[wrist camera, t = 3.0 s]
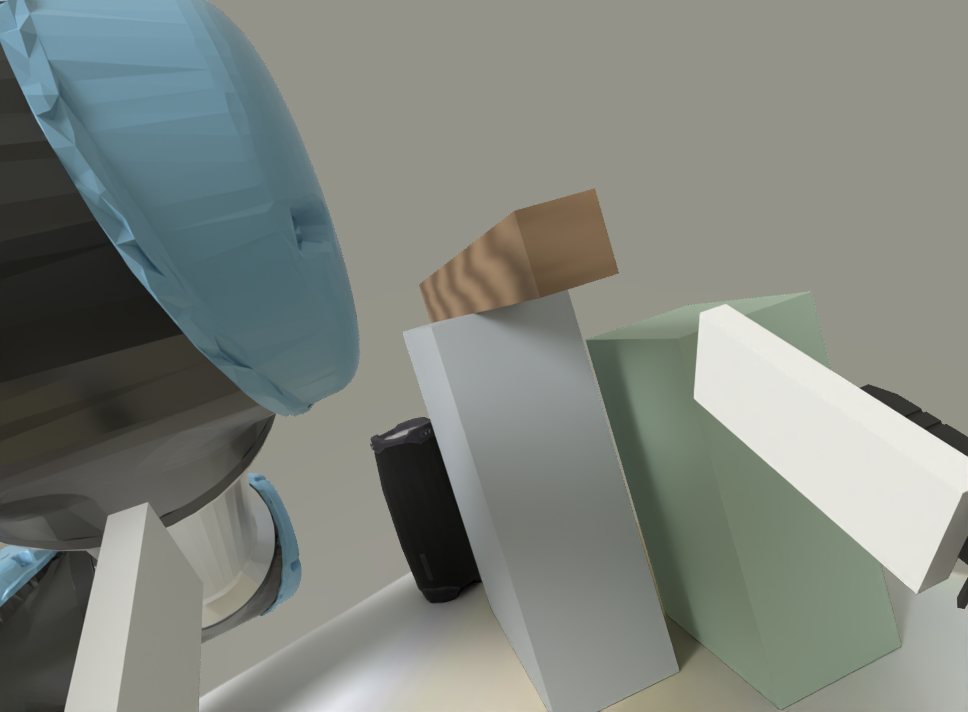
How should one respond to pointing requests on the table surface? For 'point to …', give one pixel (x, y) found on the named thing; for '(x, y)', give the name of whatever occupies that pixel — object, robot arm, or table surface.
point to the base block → (737, 514)
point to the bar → (524, 259)
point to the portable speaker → (425, 509)
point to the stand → (544, 500)
